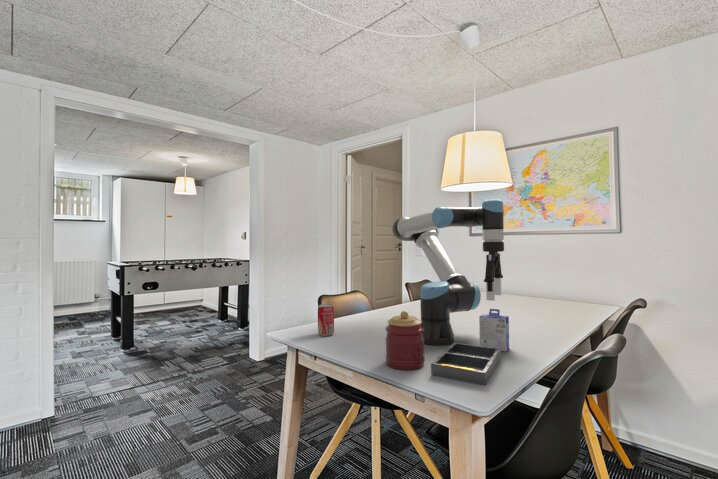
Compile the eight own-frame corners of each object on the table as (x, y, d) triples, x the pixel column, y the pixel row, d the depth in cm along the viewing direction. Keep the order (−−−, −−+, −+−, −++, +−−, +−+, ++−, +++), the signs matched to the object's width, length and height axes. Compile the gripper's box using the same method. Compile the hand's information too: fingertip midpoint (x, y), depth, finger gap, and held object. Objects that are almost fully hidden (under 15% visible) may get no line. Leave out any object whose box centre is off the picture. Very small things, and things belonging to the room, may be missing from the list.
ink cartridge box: (509, 348, 134) (509, 309, 134) (507, 352, 130) (506, 312, 130) (482, 344, 140) (482, 307, 139) (479, 348, 135) (478, 309, 135)
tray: (431, 375, 109) (431, 363, 109) (454, 351, 131) (454, 341, 131) (485, 385, 101) (485, 372, 101) (500, 358, 123) (500, 348, 123)
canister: (425, 371, 112) (424, 315, 112) (383, 369, 114) (383, 314, 114) (424, 358, 125) (423, 307, 125) (387, 356, 127) (386, 307, 127)
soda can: (337, 333, 158) (337, 304, 158) (327, 337, 152) (327, 307, 152) (324, 331, 162) (324, 303, 162) (314, 335, 156) (314, 305, 156)
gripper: (497, 241, 122) (499, 303, 122) (508, 240, 143) (509, 293, 143) (475, 241, 126) (476, 302, 126) (489, 240, 147) (490, 292, 147)
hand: (494, 297), depth 134 cm, fingers open, 13 cm apart
